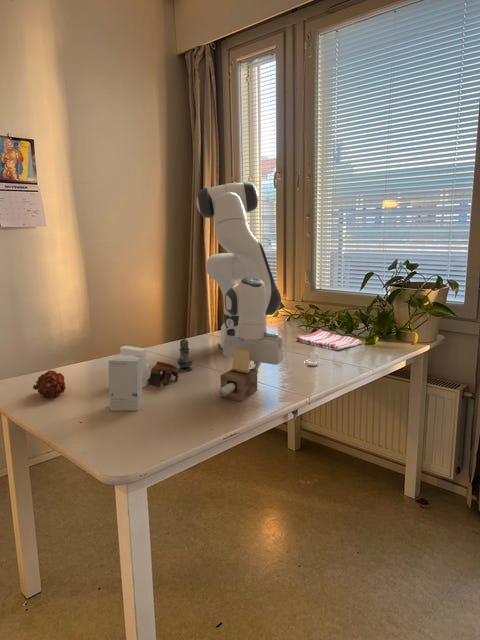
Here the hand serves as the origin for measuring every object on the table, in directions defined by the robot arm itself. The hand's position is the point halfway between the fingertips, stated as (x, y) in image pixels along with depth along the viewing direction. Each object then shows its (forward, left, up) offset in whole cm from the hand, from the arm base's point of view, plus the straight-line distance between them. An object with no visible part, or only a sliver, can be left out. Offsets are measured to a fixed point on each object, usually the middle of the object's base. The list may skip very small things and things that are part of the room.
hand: (252, 373), depth 149 cm
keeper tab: (+7, 0, +6) cm, 9 cm away
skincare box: (+32, -23, -5) cm, 40 cm away
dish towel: (-65, +1, -5) cm, 65 cm away
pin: (+9, 0, -3) cm, 9 cm away
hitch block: (+7, -1, -5) cm, 8 cm away
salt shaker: (-4, -30, -5) cm, 31 cm away
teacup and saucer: (-33, +4, -5) cm, 33 cm away
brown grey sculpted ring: (+11, -27, -5) cm, 30 cm away
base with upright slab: (+16, -35, -5) cm, 39 cm away
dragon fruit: (+37, -50, -5) cm, 63 cm away
